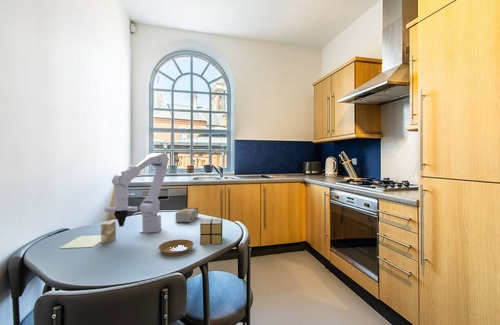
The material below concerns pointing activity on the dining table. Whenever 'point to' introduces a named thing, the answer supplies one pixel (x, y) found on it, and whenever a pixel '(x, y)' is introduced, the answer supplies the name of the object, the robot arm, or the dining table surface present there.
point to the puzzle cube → (211, 231)
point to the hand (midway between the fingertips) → (121, 226)
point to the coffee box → (186, 215)
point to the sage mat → (83, 242)
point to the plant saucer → (174, 243)
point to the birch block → (108, 231)
